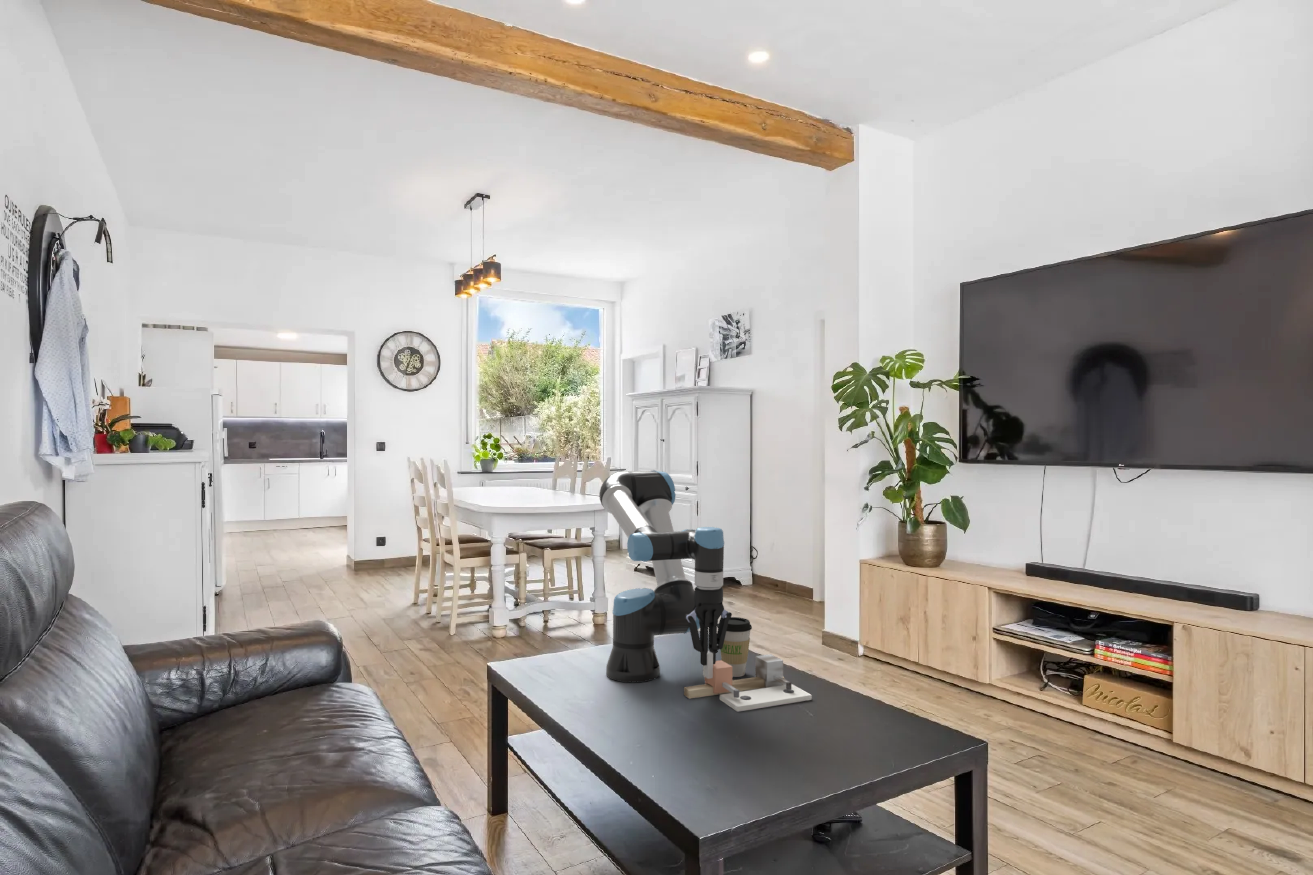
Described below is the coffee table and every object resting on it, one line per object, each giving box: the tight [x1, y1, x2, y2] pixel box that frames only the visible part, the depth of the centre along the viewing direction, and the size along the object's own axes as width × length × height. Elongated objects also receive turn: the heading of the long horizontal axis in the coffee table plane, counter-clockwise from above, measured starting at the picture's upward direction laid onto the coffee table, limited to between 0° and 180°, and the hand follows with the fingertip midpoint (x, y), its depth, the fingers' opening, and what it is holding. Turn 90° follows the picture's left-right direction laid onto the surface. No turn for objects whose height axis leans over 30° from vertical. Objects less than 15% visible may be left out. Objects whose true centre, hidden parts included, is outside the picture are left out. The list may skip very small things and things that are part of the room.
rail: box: [683, 653, 792, 700], centre depth 196 cm, size 13×29×7 cm, turn 114°
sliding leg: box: [704, 659, 740, 698], centre depth 194 cm, size 13×5×6 cm, turn 24°
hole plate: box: [719, 684, 813, 712], centre depth 192 cm, size 9×22×1 cm, turn 114°
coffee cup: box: [717, 616, 753, 678], centre depth 213 cm, size 10×10×15 cm
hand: (707, 676), depth 196 cm, fingers closed
